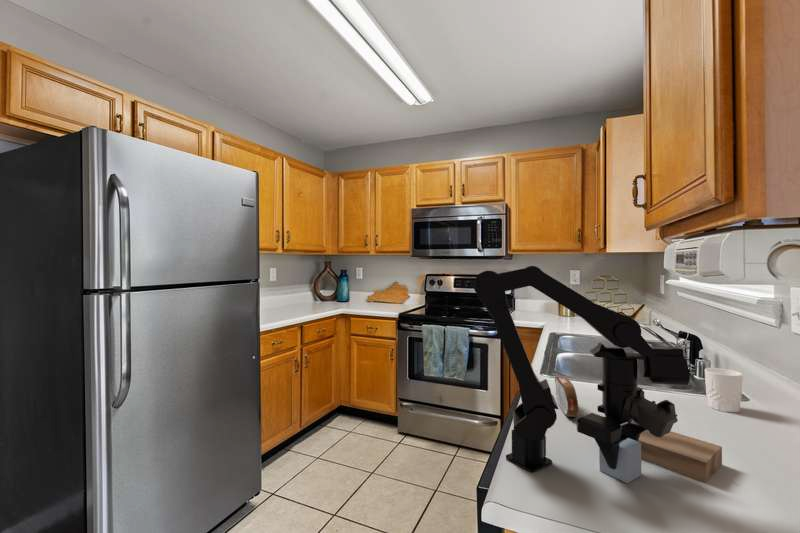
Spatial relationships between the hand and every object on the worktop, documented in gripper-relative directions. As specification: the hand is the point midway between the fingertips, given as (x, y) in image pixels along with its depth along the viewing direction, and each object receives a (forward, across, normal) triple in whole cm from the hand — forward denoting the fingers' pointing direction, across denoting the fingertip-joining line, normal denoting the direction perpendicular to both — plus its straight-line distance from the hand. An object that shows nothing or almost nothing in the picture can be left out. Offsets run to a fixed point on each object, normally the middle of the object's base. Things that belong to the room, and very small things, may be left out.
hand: (620, 464), depth 70 cm
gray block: (+2, 0, 0) cm, 2 cm away
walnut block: (+2, +14, 0) cm, 14 cm away
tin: (+2, +19, +24) cm, 31 cm away
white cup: (+2, +57, +2) cm, 57 cm away
